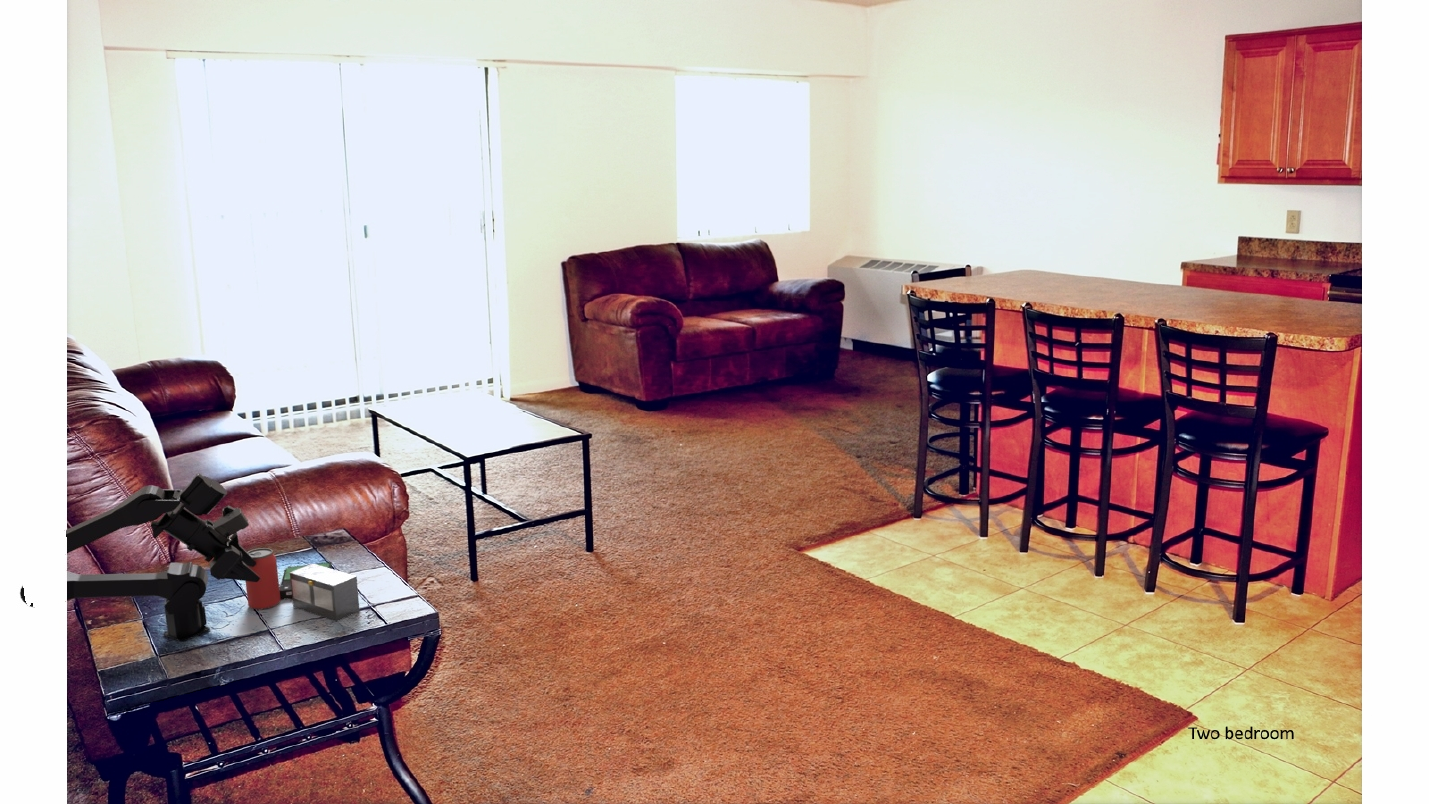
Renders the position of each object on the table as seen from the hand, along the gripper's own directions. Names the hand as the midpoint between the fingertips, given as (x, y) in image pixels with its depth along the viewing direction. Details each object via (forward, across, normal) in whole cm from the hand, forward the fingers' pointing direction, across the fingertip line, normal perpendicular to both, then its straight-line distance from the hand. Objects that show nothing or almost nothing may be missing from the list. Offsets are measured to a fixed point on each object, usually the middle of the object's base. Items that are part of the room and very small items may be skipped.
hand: (257, 572), depth 222 cm
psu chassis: (+16, -1, -2) cm, 17 cm away
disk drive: (+16, +15, 0) cm, 22 cm away
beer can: (+8, +8, +7) cm, 13 cm away
